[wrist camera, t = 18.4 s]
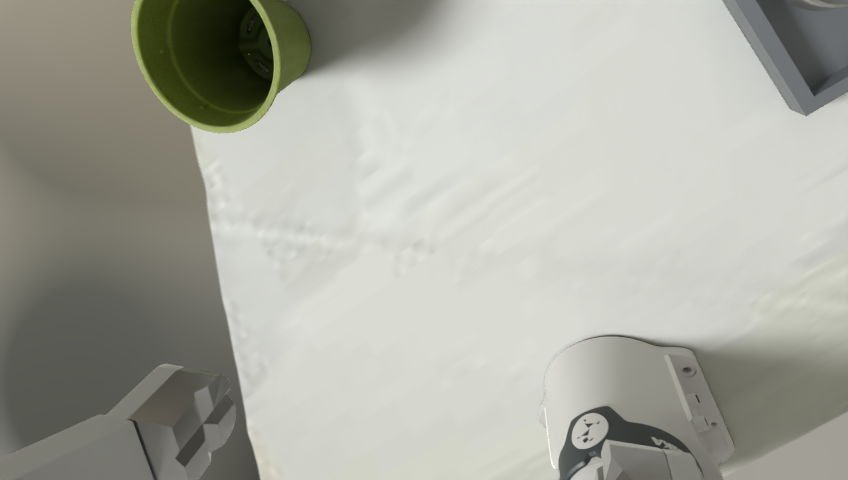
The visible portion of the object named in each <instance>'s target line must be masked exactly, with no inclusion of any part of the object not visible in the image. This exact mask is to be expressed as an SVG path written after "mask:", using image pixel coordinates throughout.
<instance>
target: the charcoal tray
mask: <svg viewBox="0 0 848 480" xmlns="http://www.w3.org/2000/svg"><path fill="white" fill-rule="evenodd" d="M723 2H724V4H725V5H726V7H727V8H728V10H729V12H730V13H731V15H732V16H733V18H734V20H735V21H736V23H737V24H738V26H739V28H740V29H741V31H742V32H743V34H744V36H745V37H746V39H747V40H748V42H749V44H750V45H751V47H752V49H753V50H754V52H755V53H756V55H757V57H758V58H759V60H760V61H761V63H762V65H763V66H764V68H765V69H766V71H767V73H768V74H769V76H770V77H771V79H772V81H773V82H774V84H775V85H776V87H777V89H778V90H779V92H780V94H781V95H782V97H783V98H784V100H785V102H786V103H787V105H788V106H789V108H790V109H791V110H793V111H796V112H798V113H800V114H803V115H805V116H807V115H809V114H810V113H812V112H814V111H815V110H817V109H819V108H821V107H822V106H824V105H826V104H827V103H829V102H831V101H832V100H834V99H836V98H838V97H839V96H841V95H843V94H844V93H846V92H848V6H846V7H842V8H838V9H833V10H829V11H817V12H816V11H808V10H804V9H801V8H799V7H796V6H794V5H793V4H791V3H789V2H788V1H786V0H723Z"/></svg>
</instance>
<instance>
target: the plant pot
mask: <svg viewBox="0 0 848 480" xmlns="http://www.w3.org/2000/svg"><path fill="white" fill-rule="evenodd" d="M251 18H254V20H256V22H255V23H254V25H253V27H252V30H251V34H250V33H248V32H247V27H248V24H249V22H250V20H251ZM131 34H132V42H133V47H134V51H135V55H136V58H137V61H138V64H139V66H140V69H141V71H142V73H143V75H144V77H145V79H146V81H147V83H148V84H149V86H150V88H151V89H152V90H153V92H154V94H155V95H156V96H157V97H158V98H159V100H160V101H161V102H162V103H163V104H164V105H165V106H166V107H167V108H168V109H169V110H170V111H171V112H172V113H174V114H175V115H176V116H177V117H179V118H181V119H182V120H183V121H185V122H186V123H188V124H190V125H192V126H194V127H197V128H199V129H202V130H205V131H209V132H215V133H231V132H237V131H240V130H243V129H246V128H248V127H250V126H252V125H253V124H255V123H256V122H257V121H259V120H260V119H261V118H262V117H263V116H264V115H265V114H266V112H267V111H268V110H269V108H270V107H271V105H272V103H273V101H274V99H275V97H276V95H277V94H278V93H279V92H280V91H281V90H283V89H284V88H285V87H287V86H288V85H289V84H291V83H292V82H293V81H294V80H296V79H297V78H298V77H299V76H300V75H301V74H302V73H303V72H304V71H305V69H306V68H307V66H308V63H309V60H310V56H311V42H310V38H309V34H308V31H307V28H306V25H305V23H304V21H303V20H302V18H301V17H300V16H299V15H298V13H297V12H296V11H295V10H294V9H292V8H291V7H290V6H288V5H286V4H285V3H282V2H280V1H278V0H135V2H134V7H133V10H132V16H131ZM270 40H271V45H272V46H271V45H270ZM257 61H260V62H261V63H262V64H263V65H264V66H265V67H266V68H267V69H269V71H270V73H267V72H266V71H264V70H262V69H261V68H260V67H259V66H258V65H257V63H256V62H257Z"/></svg>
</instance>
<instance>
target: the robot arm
mask: <svg viewBox="0 0 848 480" xmlns="http://www.w3.org/2000/svg"><path fill="white" fill-rule="evenodd" d="M685 367H689V368H687V369H683V368H685ZM544 387H545V397H544V400H543V402H542V404H541V405H540V407H539V410H538V420H539V422H540V424H541V425H542V426H544V427H545V428H546V429H547V435H548V443H549V451H550V458H551V463H552V466H553V468H554V469H557V470H558V480H723V476H722V473H721V471H720V468H719V466H720V465H722V464H723V463H724V462H726V461H727V460H728V459H729V458H730V457H731V456H732V455H733V454H734V452H735V447H734V444H733V441H732V438H731V436H730V434H729V431H728V429H727V427H726V425H725V422H724V420H723V418H722V416H721V413H720V411H719V409H718V407H717V404H716V402H715V400H714V398H713V395H712V393H711V391H710V389H709V386H708V384H707V382H706V380H705V377H704V375H703V373H702V371H701V368H700V366H699V364H698V362H697V359H696V357H695V355H694V353H693V352H692V351H691V350H689V349H686V348H681V347H658V346H654V345H651V344H648V343H645V342H642V341H639V340H635V339H631V338H625V337H613V336H611V337H598V338H592V339H588V340H584V341H581V342H579V343H576V344H574V345H572V346H570V347H569V348H567V349H565V350H564V351H563V352H561V353H560V354H559V355H558V356H557V357H556V358H555V359H554V360H553V362H552V363H551V364H550V366H549V368H548V370H547V373H546V376H545V383H544ZM230 388H231V387H230V383H229V380H228V377H227V376H225V375H222V374H216V373H211V372H207V371H202V370H197V369H191V368H187V367H180V366H175V365H170V364H163V365H161V366H158V367H157V368H155V369H154V371H152V372H151V373H150V374H149V375H148V376H147V377H146V378H145V379H144V380H143V381H142V382H140V383H139V384H138V385H137V386H136V387H135V388H134V389H133V390H132V391H131V392H130V393H129V394H128V395H127V396H126V397H125V398H123V400H121V402H119V403H118V404H117V405H116V406H115V407H114V408H113V409H112V410H111V411H110V412H109V413H108V414H106V415H97V416H95V417H93V418H90V419H88V420H86V421H84V422H81V423H79V424H77V425H75V426H73V427H70V428H68V429H66V430H64V431H62V432H59V433H57V434H55V435H52V436H50V437H48V438H46V439H44V440H41V441H39V442H37V443H35V444H32V445H30V446H28V447H26V448H23V449H21V450H19V451H17V452H14V453H12V454H10V455H8V456H5V457H3V458H1V459H0V480H198V479H199V478H200V477H201V475H202V474H203V472H204V471H205V470H206V468H207V467H208V465H209V464H210V463H211V452H212V451H214V450H216V449H218V448H219V447H221V446H223V445H224V443H225V442H226V440H227V439H228V437H229V436H230V434H231V432H232V429H233V426H234V424H235V420H236V409H235V404H234V402H233V401H232V400H231V398H230V397H229V396H228V395H227V393H228V391H229V390H230Z"/></svg>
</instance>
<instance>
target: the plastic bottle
mask: <svg viewBox="0 0 848 480" xmlns="http://www.w3.org/2000/svg"><path fill="white" fill-rule="evenodd" d="M786 1H788V2H789V3H791V4H793V5H794V6H796V7H799V8H801V9H804V10H808V11H816V12H817V11H829V10H833V9H838V8H842V7H846V6H848V0H786Z"/></svg>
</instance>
